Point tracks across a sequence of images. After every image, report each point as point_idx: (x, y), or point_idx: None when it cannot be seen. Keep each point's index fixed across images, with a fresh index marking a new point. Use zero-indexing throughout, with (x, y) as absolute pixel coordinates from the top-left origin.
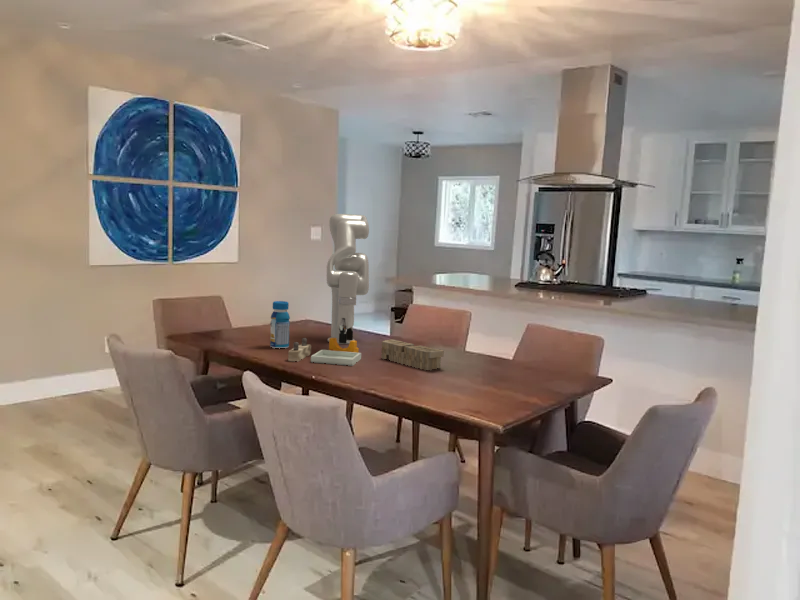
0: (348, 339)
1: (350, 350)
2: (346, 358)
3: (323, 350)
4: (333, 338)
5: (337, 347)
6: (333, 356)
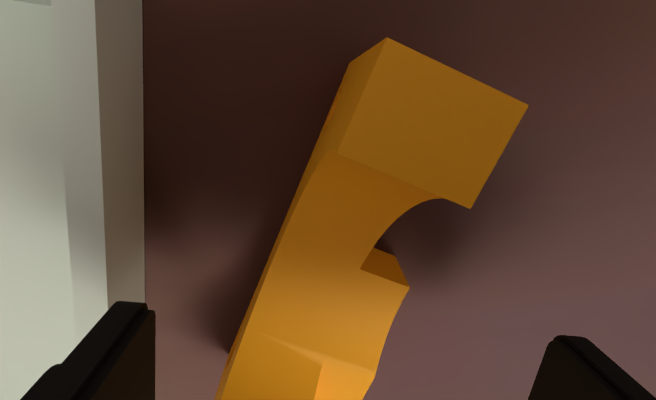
0: (537, 388)
1: (227, 370)
2: (18, 327)
3: (54, 2)
4: (397, 147)
5: (313, 202)
6: (49, 174)
